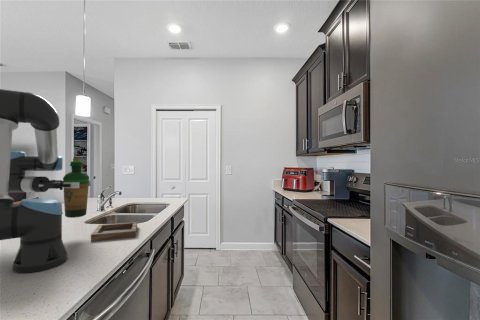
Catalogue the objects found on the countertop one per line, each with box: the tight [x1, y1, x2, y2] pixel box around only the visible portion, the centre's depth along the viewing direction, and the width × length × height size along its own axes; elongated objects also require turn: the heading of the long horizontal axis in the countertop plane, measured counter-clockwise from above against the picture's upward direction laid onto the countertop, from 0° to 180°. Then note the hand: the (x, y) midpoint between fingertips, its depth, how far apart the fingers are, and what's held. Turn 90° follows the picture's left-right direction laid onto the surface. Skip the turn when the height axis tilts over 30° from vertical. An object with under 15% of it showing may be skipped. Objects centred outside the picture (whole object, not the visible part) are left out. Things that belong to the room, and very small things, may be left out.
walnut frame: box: [90, 221, 138, 242], centre depth 124 cm, size 19×19×3 cm
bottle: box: [62, 158, 90, 219], centre depth 118 cm, size 11×11×28 cm
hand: (85, 184), depth 118 cm, fingers closed on bottle, 11 cm apart
